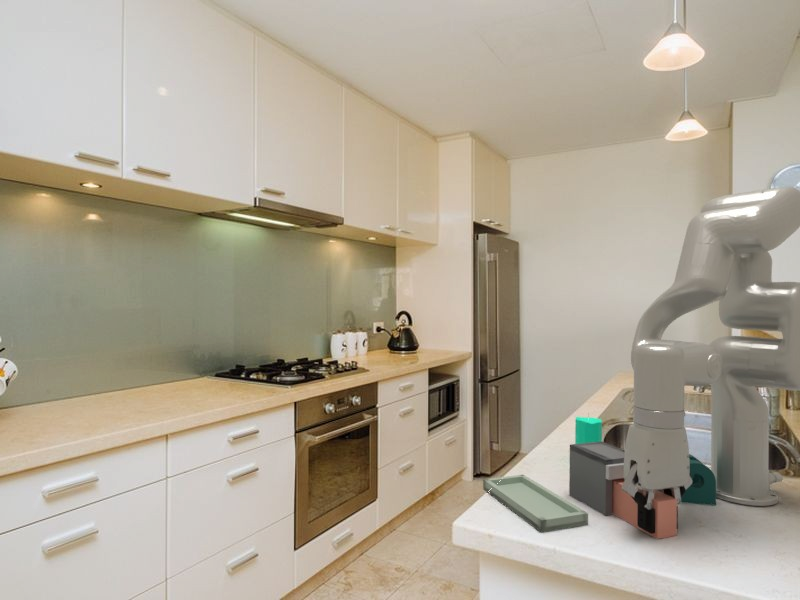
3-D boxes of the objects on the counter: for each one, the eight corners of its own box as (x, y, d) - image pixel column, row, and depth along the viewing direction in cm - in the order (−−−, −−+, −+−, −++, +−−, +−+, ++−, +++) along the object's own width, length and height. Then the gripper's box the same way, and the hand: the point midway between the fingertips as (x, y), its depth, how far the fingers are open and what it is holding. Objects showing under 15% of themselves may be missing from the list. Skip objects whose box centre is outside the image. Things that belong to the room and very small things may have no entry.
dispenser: (643, 512, 91) (643, 457, 91) (608, 517, 89) (609, 461, 89) (601, 490, 101) (601, 441, 101) (569, 495, 99) (569, 444, 99)
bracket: (701, 492, 101) (701, 454, 101) (715, 506, 95) (716, 464, 95) (607, 485, 105) (607, 448, 105) (614, 498, 98) (615, 458, 98)
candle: (571, 464, 118) (572, 413, 118) (578, 457, 123) (579, 409, 123) (598, 469, 114) (598, 417, 114) (604, 462, 119) (604, 412, 119)
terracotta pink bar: (607, 498, 97) (607, 467, 97) (676, 535, 82) (677, 498, 82) (590, 501, 96) (590, 469, 96) (657, 539, 81) (657, 501, 81)
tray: (523, 484, 105) (523, 474, 105) (588, 524, 86) (588, 513, 86) (483, 489, 102) (483, 479, 102) (541, 532, 83) (541, 520, 83)
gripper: (678, 410, 90) (677, 512, 90) (601, 416, 84) (600, 525, 84) (716, 420, 82) (715, 531, 82) (635, 427, 77) (634, 545, 77)
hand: (657, 526), depth 83 cm, fingers closed on terracotta pink bar, 4 cm apart
